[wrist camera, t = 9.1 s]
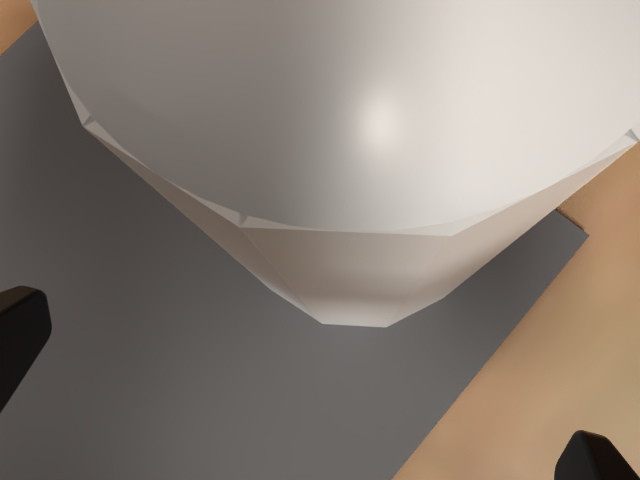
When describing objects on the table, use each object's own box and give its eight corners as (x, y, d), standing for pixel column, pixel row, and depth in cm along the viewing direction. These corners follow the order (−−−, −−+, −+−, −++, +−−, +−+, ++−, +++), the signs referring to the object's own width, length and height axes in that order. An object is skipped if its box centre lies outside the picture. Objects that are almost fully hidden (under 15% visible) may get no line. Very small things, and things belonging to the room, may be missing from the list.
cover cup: (518, 259, 17) (885, 15, 5) (307, 367, 16) (185, 371, 5) (404, 72, 19) (483, -427, 7) (212, 167, 18) (-49, -186, 7)
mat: (585, 237, 17) (589, 235, 17) (195, 717, 15) (192, 724, 14) (157, -83, 21) (154, -89, 21) (-201, 255, 19) (-210, 253, 19)
